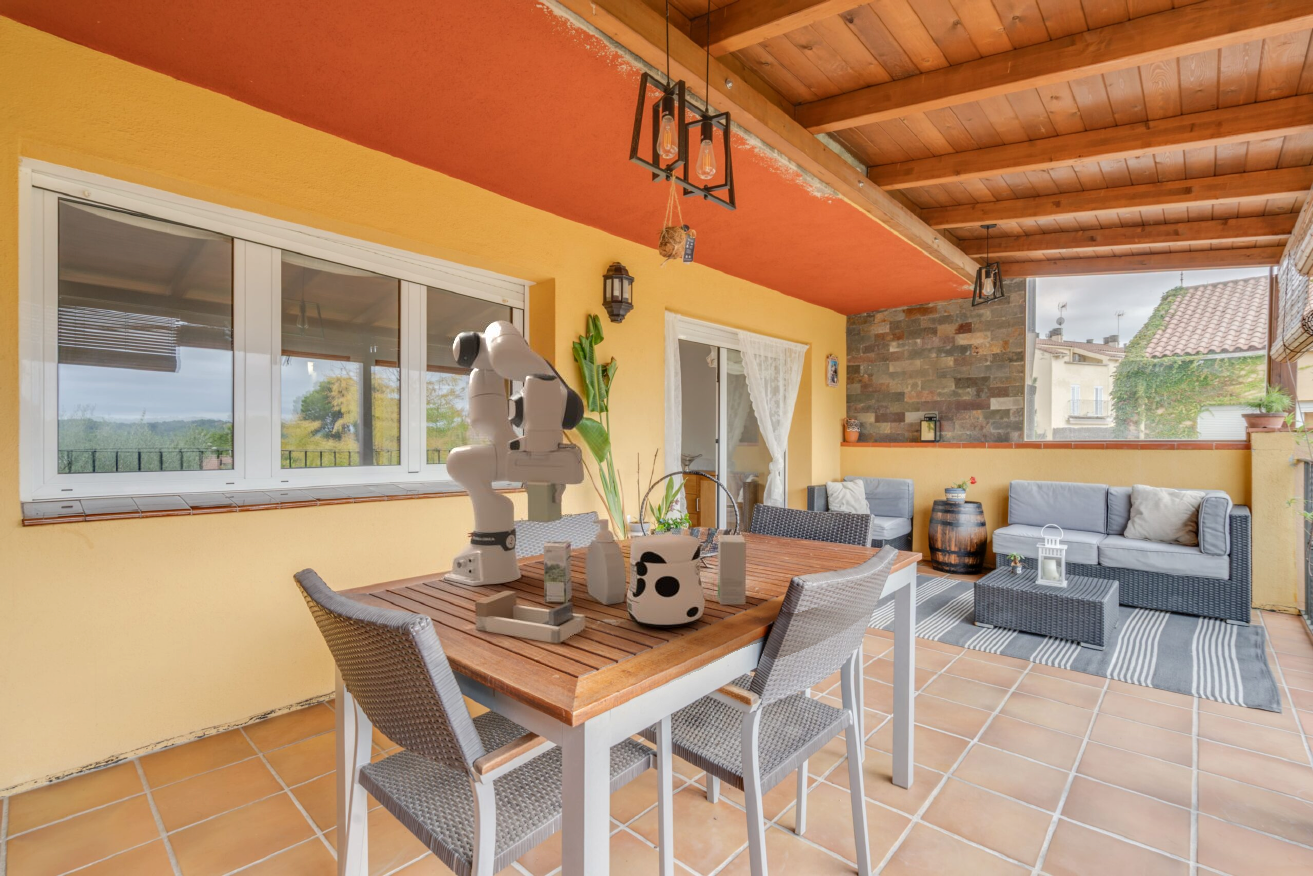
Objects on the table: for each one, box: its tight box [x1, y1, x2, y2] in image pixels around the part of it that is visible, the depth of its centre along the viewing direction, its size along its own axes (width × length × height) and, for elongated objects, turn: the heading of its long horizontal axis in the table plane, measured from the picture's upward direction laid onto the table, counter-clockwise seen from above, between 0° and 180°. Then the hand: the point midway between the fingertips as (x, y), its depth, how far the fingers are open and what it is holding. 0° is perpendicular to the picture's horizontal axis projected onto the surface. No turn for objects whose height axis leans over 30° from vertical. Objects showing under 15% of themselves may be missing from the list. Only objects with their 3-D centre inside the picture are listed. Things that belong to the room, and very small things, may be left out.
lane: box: [474, 590, 586, 645], centre depth 132 cm, size 22×10×6 cm, turn 63°
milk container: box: [626, 533, 706, 629], centre depth 136 cm, size 17×17×18 cm
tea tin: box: [527, 482, 563, 523], centre depth 143 cm, size 6×6×9 cm
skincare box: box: [717, 534, 747, 606], centre depth 151 cm, size 8×7×16 cm
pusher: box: [542, 601, 574, 627], centre depth 129 cm, size 4×7×6 cm, turn 153°
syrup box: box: [543, 540, 573, 604], centre depth 154 cm, size 6×6×14 cm
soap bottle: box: [585, 518, 627, 606], centre depth 155 cm, size 16×5×20 cm, turn 26°
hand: (544, 502), depth 143 cm, fingers closed on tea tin, 5 cm apart
